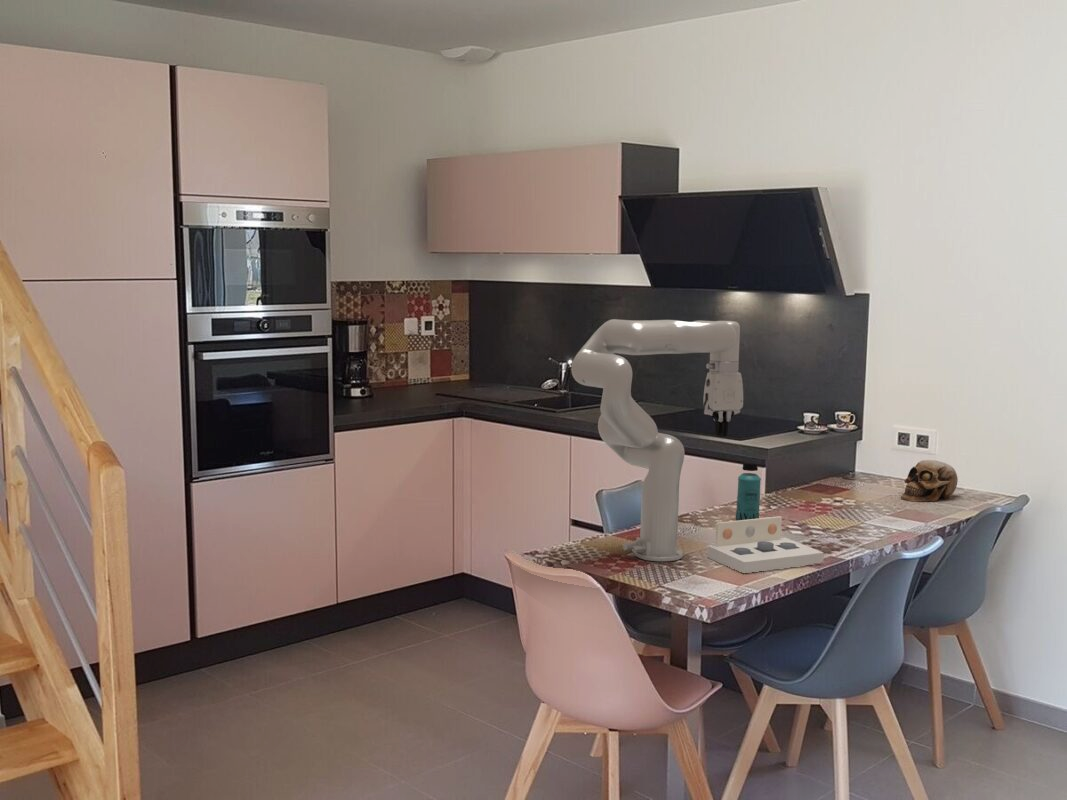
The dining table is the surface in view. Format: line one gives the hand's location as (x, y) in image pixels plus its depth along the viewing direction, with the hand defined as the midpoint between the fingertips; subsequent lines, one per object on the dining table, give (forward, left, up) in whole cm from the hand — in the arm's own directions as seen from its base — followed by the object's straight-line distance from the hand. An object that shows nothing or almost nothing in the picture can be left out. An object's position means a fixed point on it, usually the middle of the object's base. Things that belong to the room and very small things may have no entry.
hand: (721, 435), depth 287 cm
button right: (+8, -20, -28) cm, 36 cm away
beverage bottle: (+14, +6, -29) cm, 33 cm away
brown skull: (+96, +22, -29) cm, 103 cm away
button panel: (+1, -20, -29) cm, 35 cm away
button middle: (+1, -20, -28) cm, 34 cm away
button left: (-6, -20, -29) cm, 35 cm away
